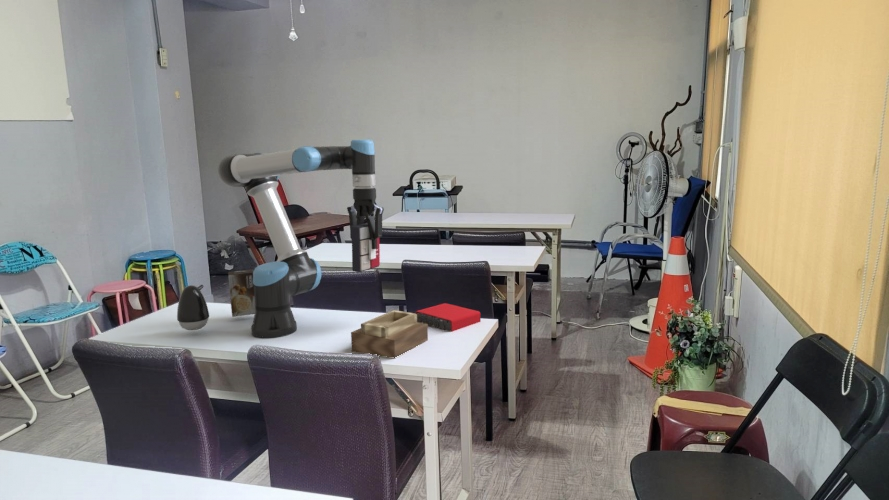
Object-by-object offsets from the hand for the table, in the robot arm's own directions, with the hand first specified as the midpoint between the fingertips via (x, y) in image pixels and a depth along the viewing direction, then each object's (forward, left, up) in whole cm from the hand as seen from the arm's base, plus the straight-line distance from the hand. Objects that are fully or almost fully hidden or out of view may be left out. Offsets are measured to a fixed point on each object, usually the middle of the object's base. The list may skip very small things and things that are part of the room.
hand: (367, 258), depth 198 cm
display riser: (+17, -11, -25) cm, 32 cm away
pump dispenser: (-55, -27, -25) cm, 67 cm away
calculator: (-1, 0, -4) cm, 4 cm away
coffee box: (-54, -6, -25) cm, 60 cm away
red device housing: (+20, +18, -25) cm, 37 cm away
